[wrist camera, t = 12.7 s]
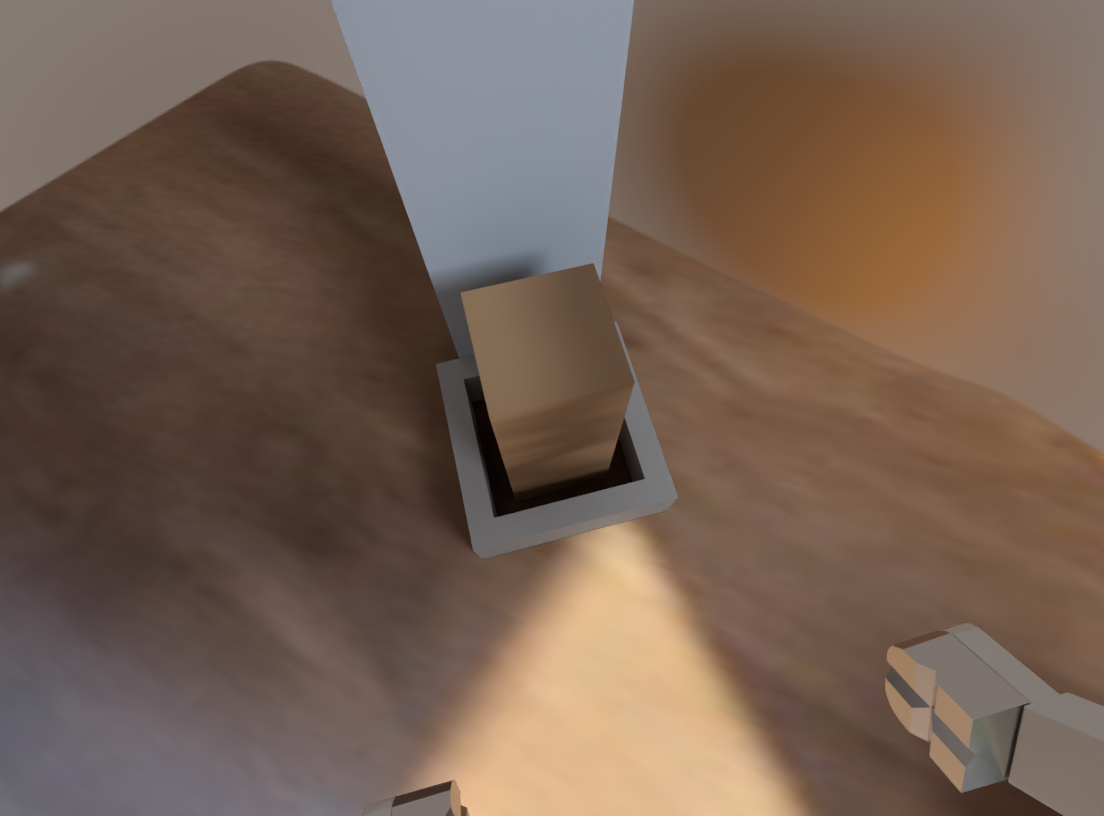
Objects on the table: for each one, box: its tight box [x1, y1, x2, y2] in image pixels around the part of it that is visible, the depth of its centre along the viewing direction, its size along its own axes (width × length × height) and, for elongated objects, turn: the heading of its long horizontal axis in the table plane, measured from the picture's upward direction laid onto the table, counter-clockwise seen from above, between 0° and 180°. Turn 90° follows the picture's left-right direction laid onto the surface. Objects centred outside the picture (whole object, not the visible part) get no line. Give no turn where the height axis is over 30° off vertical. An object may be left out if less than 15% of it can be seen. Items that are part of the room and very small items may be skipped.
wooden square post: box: [460, 263, 635, 502], centre depth 20 cm, size 4×4×10 cm
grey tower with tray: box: [331, 0, 678, 559], centre depth 17 cm, size 8×12×19 cm
